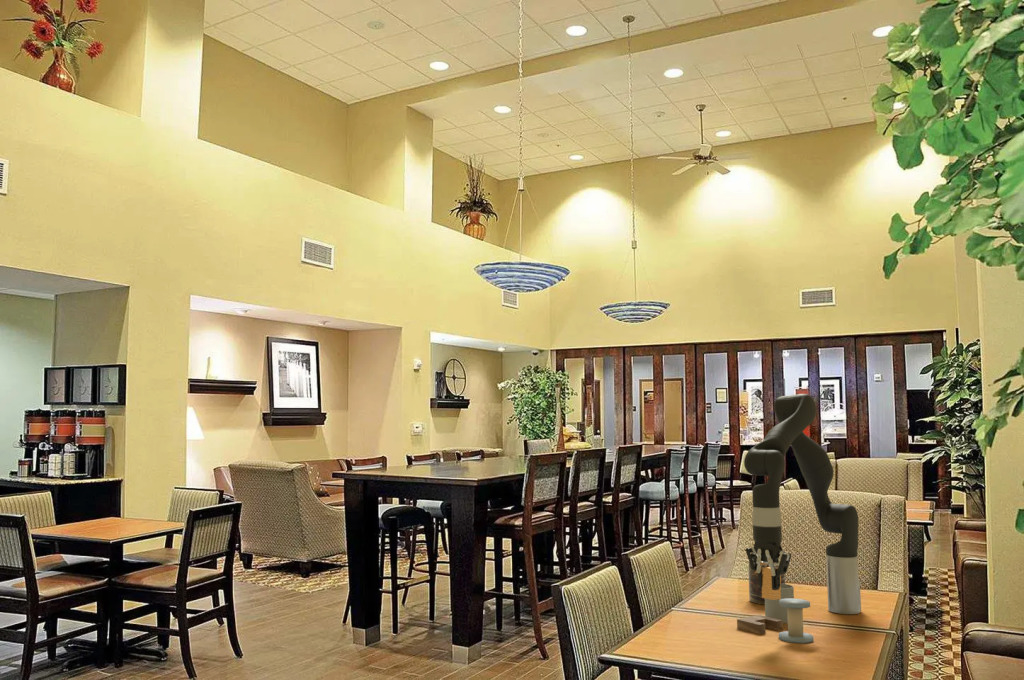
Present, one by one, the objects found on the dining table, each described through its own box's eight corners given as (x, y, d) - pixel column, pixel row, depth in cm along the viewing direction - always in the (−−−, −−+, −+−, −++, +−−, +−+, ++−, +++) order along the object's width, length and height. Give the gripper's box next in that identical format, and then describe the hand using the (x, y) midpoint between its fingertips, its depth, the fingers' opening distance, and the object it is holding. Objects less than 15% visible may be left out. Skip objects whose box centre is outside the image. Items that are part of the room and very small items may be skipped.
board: (760, 623, 241) (759, 615, 241) (782, 629, 234) (782, 620, 235) (737, 628, 235) (736, 619, 236) (759, 634, 229) (759, 624, 229)
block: (770, 597, 223) (770, 566, 225) (780, 599, 221) (781, 568, 222) (761, 597, 221) (762, 567, 223) (772, 599, 219) (772, 569, 220)
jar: (790, 600, 273) (788, 554, 275) (781, 607, 263) (779, 559, 265) (754, 596, 280) (753, 551, 281) (744, 602, 270) (743, 556, 271)
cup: (796, 623, 241) (795, 589, 242) (767, 622, 243) (766, 587, 244) (792, 617, 249) (791, 583, 250) (764, 616, 251) (763, 582, 252)
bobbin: (792, 633, 230) (791, 596, 231) (820, 640, 222) (819, 602, 223) (771, 637, 225) (770, 600, 226) (799, 645, 217) (798, 606, 218)
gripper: (797, 525, 219) (800, 591, 217) (754, 520, 231) (757, 582, 229) (779, 527, 215) (782, 594, 213) (737, 522, 226) (739, 586, 225)
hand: (769, 588), depth 221 cm, fingers closed on block, 3 cm apart
